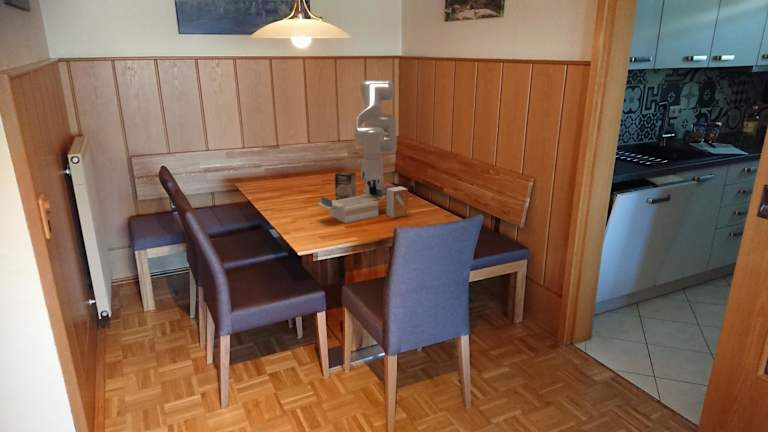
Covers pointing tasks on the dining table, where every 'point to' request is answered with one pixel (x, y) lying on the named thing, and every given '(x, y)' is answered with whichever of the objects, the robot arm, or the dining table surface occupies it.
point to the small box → (397, 201)
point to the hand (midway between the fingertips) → (372, 194)
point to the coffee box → (345, 185)
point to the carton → (355, 209)
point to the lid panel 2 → (374, 197)
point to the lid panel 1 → (329, 204)
